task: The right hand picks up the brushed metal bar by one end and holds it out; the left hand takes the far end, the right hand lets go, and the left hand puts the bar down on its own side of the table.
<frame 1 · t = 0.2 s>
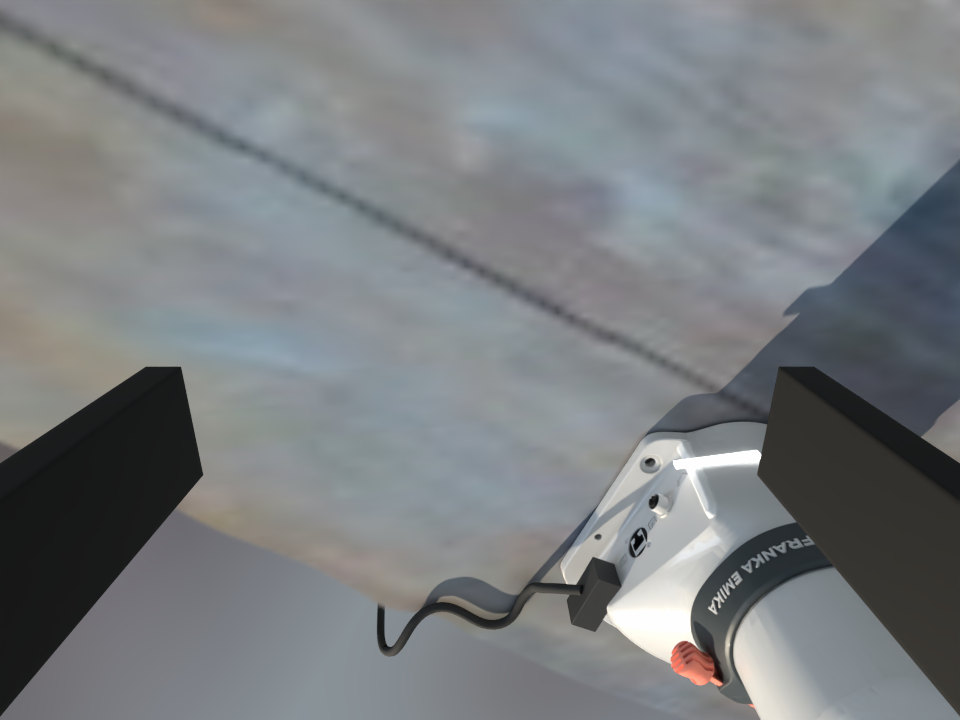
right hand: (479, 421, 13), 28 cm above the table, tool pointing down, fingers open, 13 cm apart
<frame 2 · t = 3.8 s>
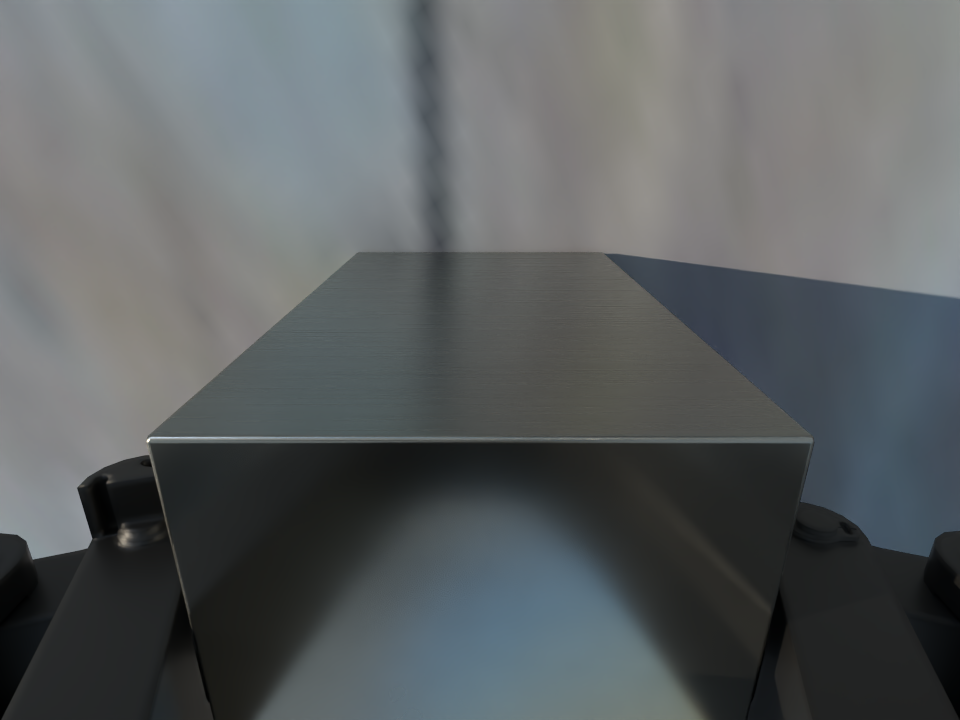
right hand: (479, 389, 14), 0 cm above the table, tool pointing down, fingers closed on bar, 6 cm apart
bar: (480, 653, 18), on the table, touching right hand
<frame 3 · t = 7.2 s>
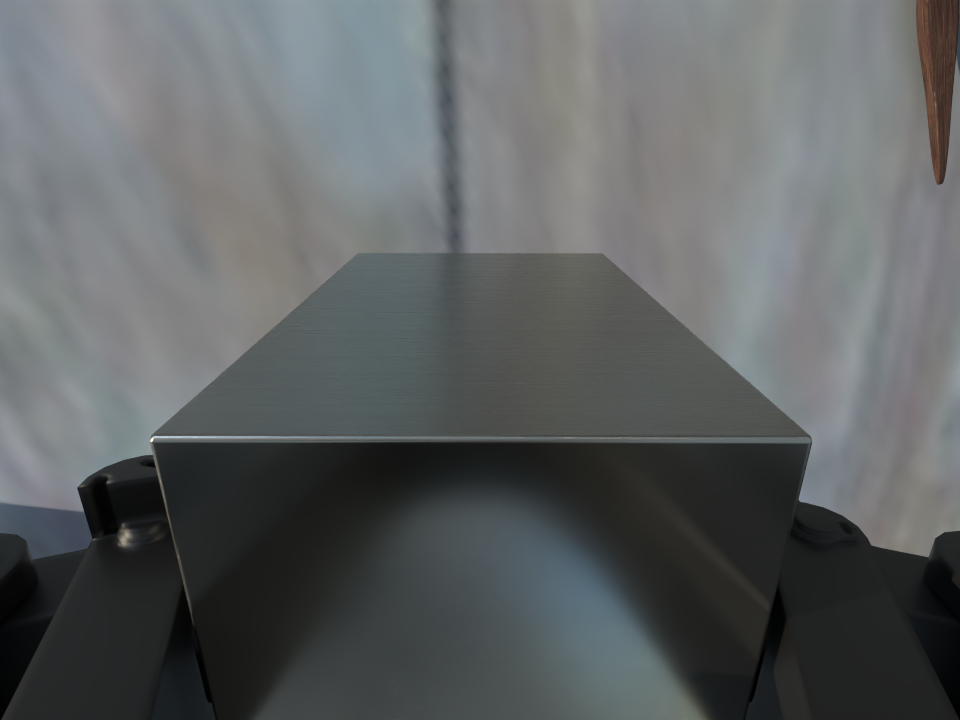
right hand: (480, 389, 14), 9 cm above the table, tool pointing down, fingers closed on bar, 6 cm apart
bar: (479, 653, 18), point 9 cm above the table, touching right hand, left hand
when the right hand's fingers open (9 cm above the table, at t = 8.3 s): bar stays where it is, held by the left hand.
when the left hand's fingers open (6 cm above the table, at t = 12.2 s): bar stays where it is, on the table.
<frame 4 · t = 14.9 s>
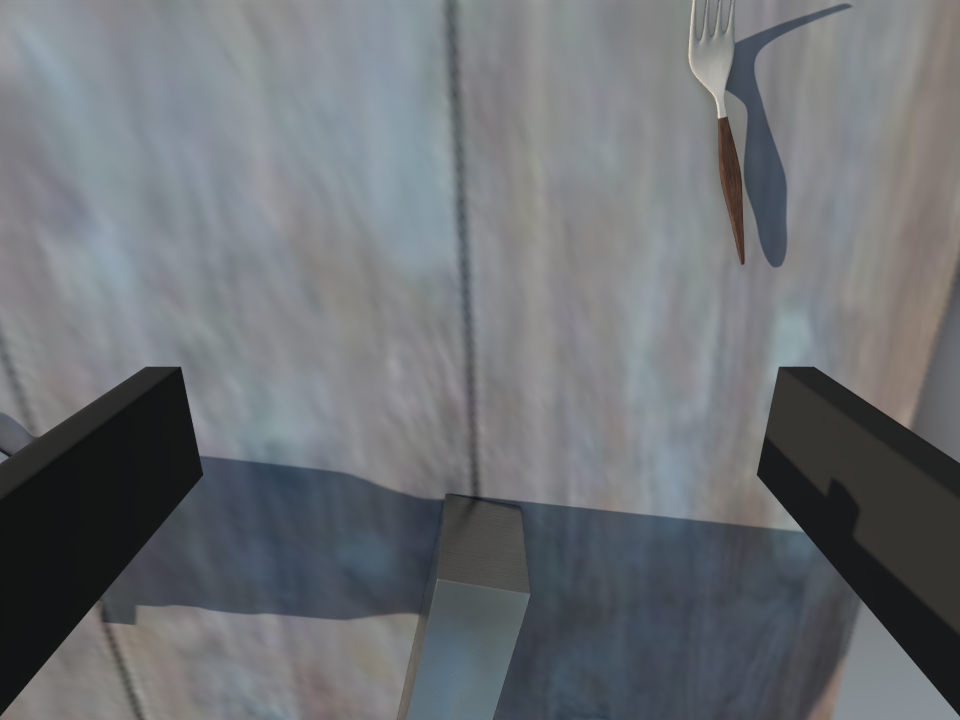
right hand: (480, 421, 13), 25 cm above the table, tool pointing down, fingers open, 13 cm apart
fork: (720, 137, 34), on the table
bar: (452, 625, 48), on the table
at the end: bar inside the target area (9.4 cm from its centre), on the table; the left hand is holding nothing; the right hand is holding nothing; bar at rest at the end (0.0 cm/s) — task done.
